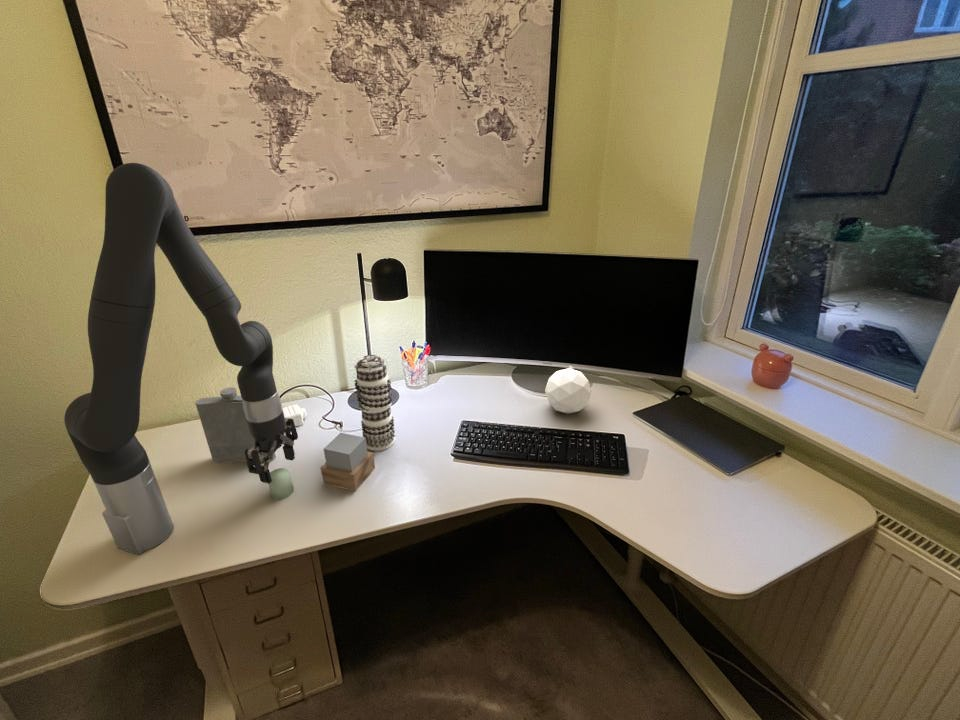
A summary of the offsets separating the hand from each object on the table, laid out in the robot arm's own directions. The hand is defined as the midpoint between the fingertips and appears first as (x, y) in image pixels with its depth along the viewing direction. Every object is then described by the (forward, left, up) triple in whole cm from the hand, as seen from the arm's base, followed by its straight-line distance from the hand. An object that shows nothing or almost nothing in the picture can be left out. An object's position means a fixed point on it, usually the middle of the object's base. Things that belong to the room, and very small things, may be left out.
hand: (279, 470), depth 112 cm
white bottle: (+22, +18, -6) cm, 30 cm away
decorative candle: (+24, -13, -6) cm, 28 cm away
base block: (+9, -12, -6) cm, 16 cm away
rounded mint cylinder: (-1, -1, -5) cm, 6 cm away
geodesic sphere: (+56, -59, -6) cm, 81 cm away
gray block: (+9, -13, -1) cm, 15 cm away
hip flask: (+7, +17, -6) cm, 20 cm away
